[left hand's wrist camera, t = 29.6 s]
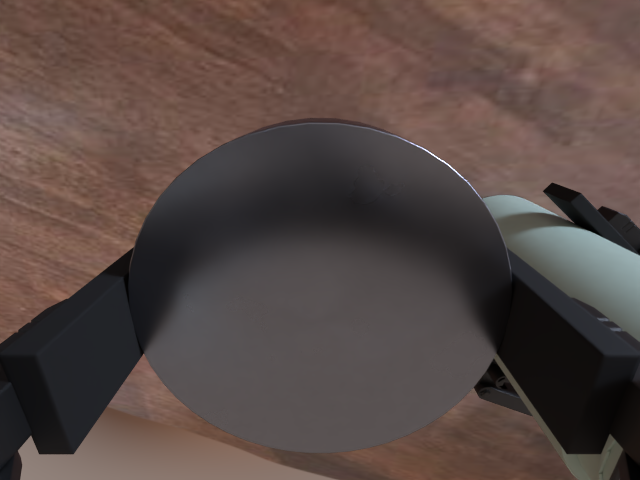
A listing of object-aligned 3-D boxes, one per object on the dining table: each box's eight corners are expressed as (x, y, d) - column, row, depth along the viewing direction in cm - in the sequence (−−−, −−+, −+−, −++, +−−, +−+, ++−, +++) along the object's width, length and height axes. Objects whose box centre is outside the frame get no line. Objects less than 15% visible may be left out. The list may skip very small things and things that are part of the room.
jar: (482, 318, 33) (677, 580, 15) (410, 255, 30) (542, 479, 13) (573, 246, 30) (943, 462, 12) (503, 169, 28) (840, 302, 10)
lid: (476, 84, 10) (518, 79, 8) (480, 381, 14) (509, 431, 12) (110, 154, 11) (58, 168, 8) (214, 417, 14) (196, 471, 12)
